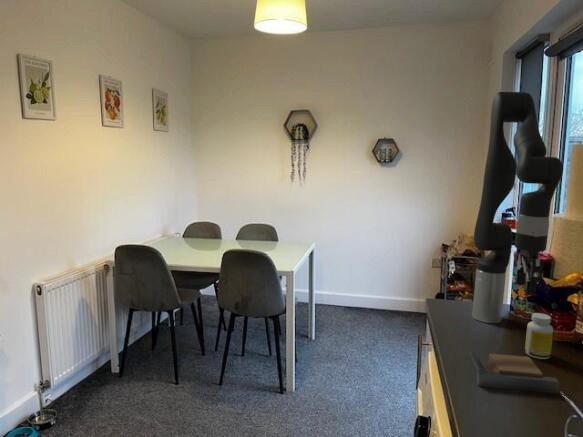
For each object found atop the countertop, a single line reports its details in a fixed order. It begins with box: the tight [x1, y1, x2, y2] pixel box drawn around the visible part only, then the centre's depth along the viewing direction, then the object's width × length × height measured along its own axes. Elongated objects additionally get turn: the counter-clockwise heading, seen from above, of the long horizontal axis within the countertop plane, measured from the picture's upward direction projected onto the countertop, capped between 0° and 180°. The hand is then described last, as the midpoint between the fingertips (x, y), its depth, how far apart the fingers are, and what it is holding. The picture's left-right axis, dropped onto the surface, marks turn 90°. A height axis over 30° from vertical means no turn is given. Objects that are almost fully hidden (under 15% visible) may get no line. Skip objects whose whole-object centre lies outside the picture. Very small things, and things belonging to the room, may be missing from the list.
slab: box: [487, 353, 544, 377], centre depth 112 cm, size 9×10×4 cm
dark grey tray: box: [469, 351, 560, 394], centre depth 114 cm, size 16×18×3 cm
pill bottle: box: [524, 312, 554, 360], centre depth 124 cm, size 6×6×12 cm
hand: (525, 289), depth 121 cm, fingers open, 8 cm apart
